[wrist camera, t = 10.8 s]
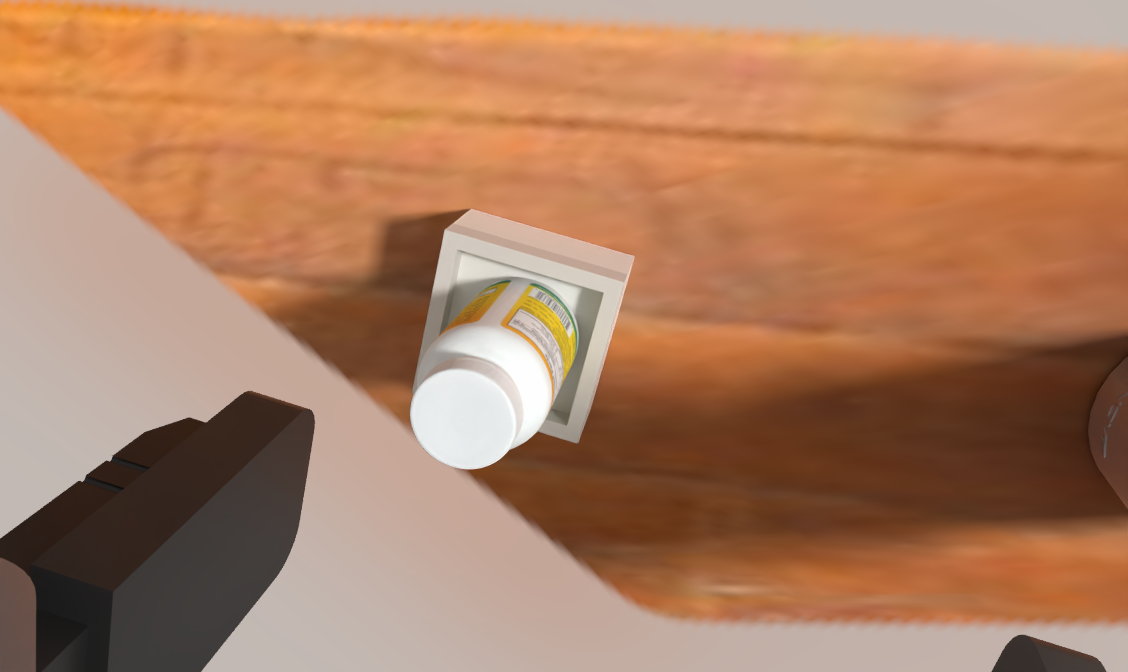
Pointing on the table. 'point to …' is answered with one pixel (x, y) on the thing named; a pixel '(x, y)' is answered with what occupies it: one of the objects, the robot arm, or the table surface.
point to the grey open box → (567, 265)
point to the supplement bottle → (493, 373)
